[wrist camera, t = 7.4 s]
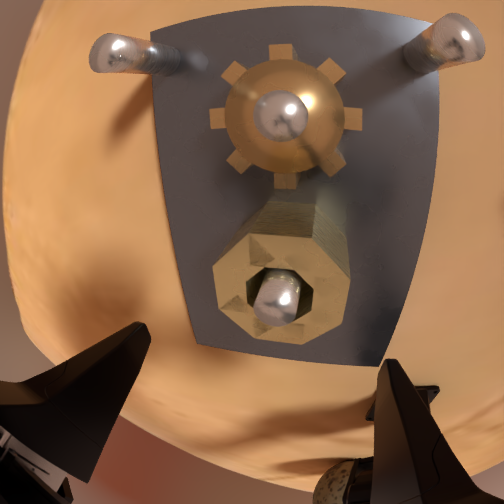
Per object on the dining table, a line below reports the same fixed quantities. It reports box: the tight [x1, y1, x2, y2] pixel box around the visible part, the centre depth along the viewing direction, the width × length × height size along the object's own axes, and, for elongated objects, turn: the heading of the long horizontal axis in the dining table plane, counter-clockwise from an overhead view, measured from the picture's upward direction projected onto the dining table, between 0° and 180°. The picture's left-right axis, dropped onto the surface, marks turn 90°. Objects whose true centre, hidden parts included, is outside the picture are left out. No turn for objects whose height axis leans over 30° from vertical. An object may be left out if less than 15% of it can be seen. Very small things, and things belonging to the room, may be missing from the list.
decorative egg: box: [313, 461, 354, 504], centre depth 26 cm, size 11×11×15 cm
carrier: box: [89, 6, 485, 367], centre depth 13 cm, size 23×15×6 cm, turn 3°
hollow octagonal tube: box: [212, 201, 351, 345], centre depth 14 cm, size 6×6×4 cm
